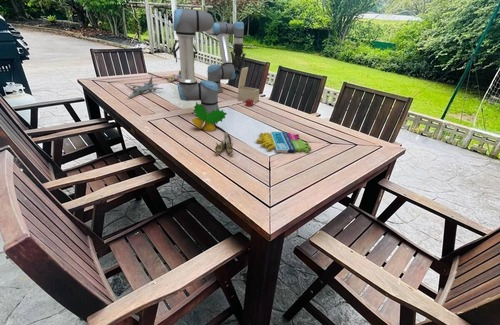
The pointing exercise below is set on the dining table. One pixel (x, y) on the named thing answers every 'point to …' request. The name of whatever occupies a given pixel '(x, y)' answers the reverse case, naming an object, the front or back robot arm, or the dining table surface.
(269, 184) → the dining table surface
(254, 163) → the dining table surface
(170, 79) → the toy
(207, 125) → the ornament
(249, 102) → the block
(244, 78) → the lid
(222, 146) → the jawbone
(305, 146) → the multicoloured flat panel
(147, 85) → the airplane
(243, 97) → the chest
